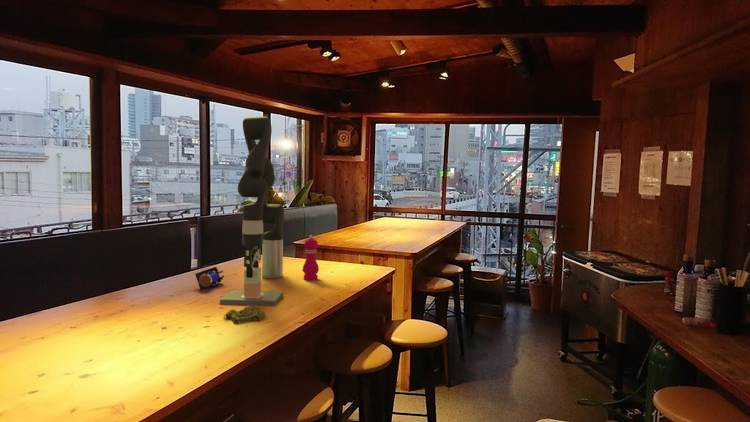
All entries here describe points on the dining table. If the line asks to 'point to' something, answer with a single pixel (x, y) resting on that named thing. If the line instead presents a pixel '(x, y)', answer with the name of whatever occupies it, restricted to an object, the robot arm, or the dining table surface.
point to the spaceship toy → (245, 314)
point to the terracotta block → (252, 290)
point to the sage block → (255, 278)
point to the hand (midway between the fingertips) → (252, 275)
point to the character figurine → (208, 277)
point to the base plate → (251, 298)
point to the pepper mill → (310, 260)
